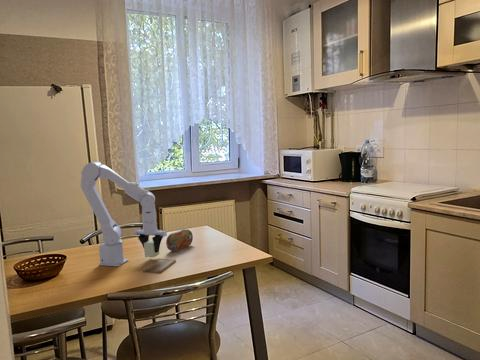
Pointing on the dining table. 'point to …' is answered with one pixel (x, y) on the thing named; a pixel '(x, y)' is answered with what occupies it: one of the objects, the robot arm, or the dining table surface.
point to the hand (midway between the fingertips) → (151, 251)
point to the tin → (179, 240)
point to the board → (159, 265)
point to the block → (150, 249)
